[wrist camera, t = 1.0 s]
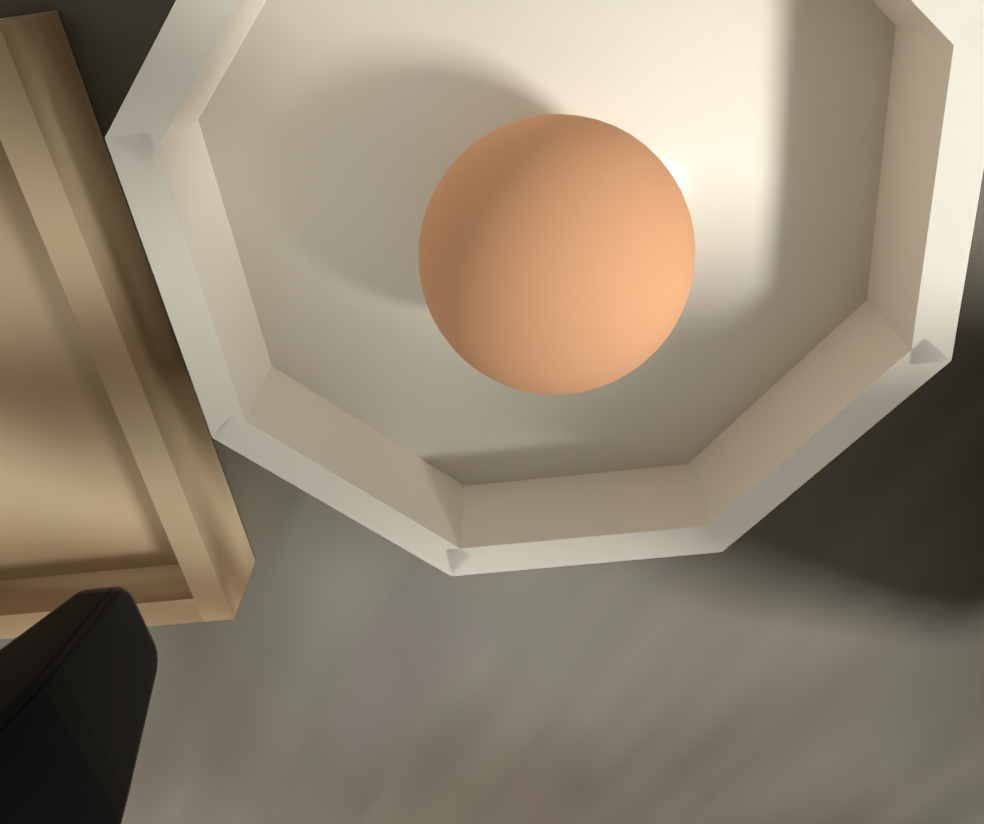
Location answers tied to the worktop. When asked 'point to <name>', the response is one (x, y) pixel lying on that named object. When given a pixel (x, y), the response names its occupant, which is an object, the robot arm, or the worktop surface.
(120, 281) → the tray
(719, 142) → the bowl
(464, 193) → the ball
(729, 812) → the worktop surface
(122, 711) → the robot arm
